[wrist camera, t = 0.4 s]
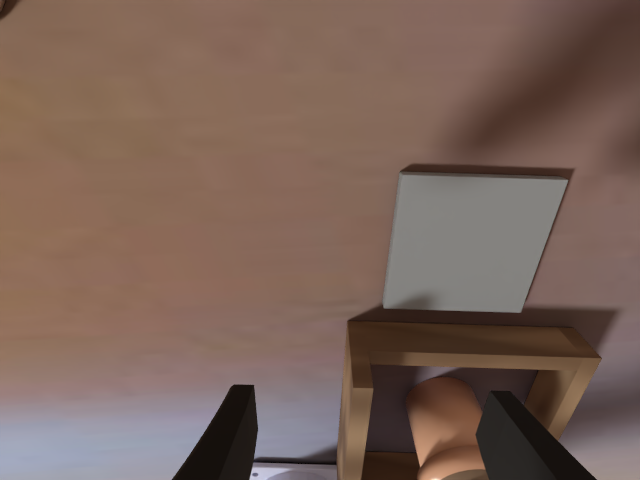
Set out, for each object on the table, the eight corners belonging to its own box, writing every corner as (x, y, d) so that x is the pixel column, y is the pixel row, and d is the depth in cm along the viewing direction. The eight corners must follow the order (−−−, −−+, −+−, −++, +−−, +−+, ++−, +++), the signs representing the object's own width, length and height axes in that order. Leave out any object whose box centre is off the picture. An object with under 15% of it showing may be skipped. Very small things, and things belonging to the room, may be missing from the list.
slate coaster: (515, 306, 21) (520, 312, 20) (382, 302, 21) (383, 308, 20) (560, 176, 17) (568, 180, 17) (399, 171, 17) (402, 174, 17)
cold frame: (511, 463, 28) (546, 539, 23) (336, 458, 28) (338, 533, 23) (573, 327, 22) (638, 396, 17) (347, 320, 22) (353, 387, 17)
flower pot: (469, 427, 26) (529, 576, 18) (396, 425, 26) (425, 573, 18) (487, 374, 24) (565, 522, 16) (406, 371, 24) (444, 518, 16)
